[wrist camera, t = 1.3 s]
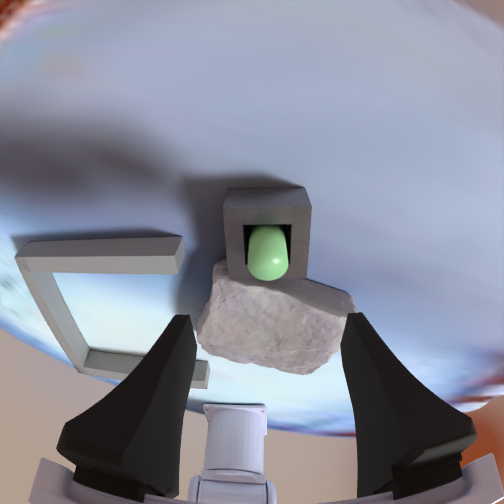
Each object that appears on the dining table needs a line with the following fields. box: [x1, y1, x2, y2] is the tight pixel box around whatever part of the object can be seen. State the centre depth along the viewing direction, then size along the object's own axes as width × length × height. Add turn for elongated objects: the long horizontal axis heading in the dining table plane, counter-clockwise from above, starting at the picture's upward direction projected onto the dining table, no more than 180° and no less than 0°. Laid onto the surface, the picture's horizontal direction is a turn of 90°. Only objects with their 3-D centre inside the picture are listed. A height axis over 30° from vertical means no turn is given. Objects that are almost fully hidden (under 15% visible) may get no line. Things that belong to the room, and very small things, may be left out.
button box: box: [222, 188, 312, 279], centre depth 20 cm, size 5×5×3 cm
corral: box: [14, 236, 210, 389], centre depth 25 cm, size 16×16×2 cm
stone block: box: [197, 258, 358, 375], centre depth 24 cm, size 12×5×10 cm
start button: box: [248, 224, 288, 281], centre depth 18 cm, size 2×2×4 cm
